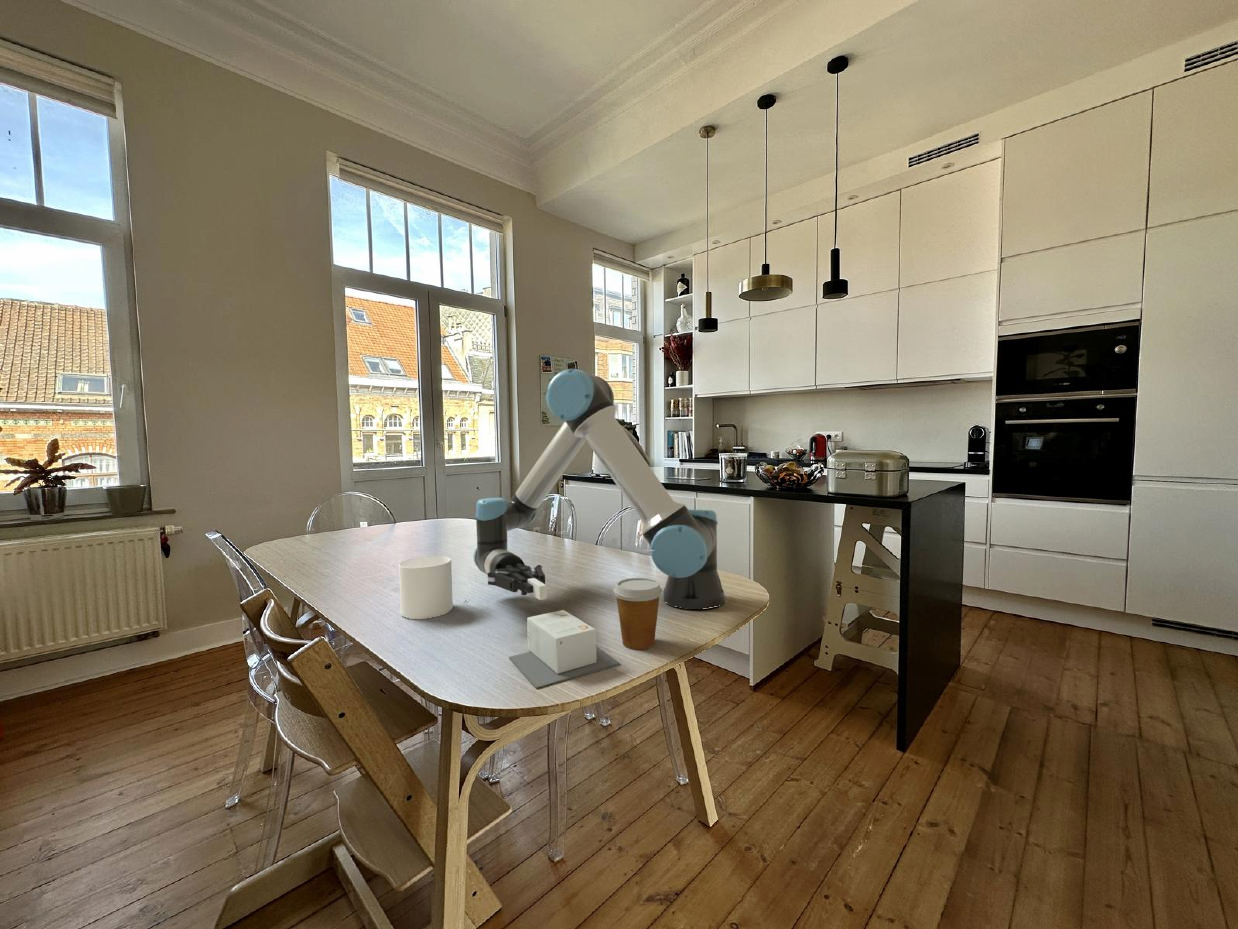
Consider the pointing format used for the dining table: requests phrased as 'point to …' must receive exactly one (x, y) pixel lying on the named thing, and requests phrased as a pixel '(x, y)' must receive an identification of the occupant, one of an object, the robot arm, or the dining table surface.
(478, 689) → the dining table surface
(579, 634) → the small box
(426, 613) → the white cylinder
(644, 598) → the disposable coffee cup
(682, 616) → the dining table surface
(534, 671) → the rubber mat
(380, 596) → the dining table surface
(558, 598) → the dining table surface
